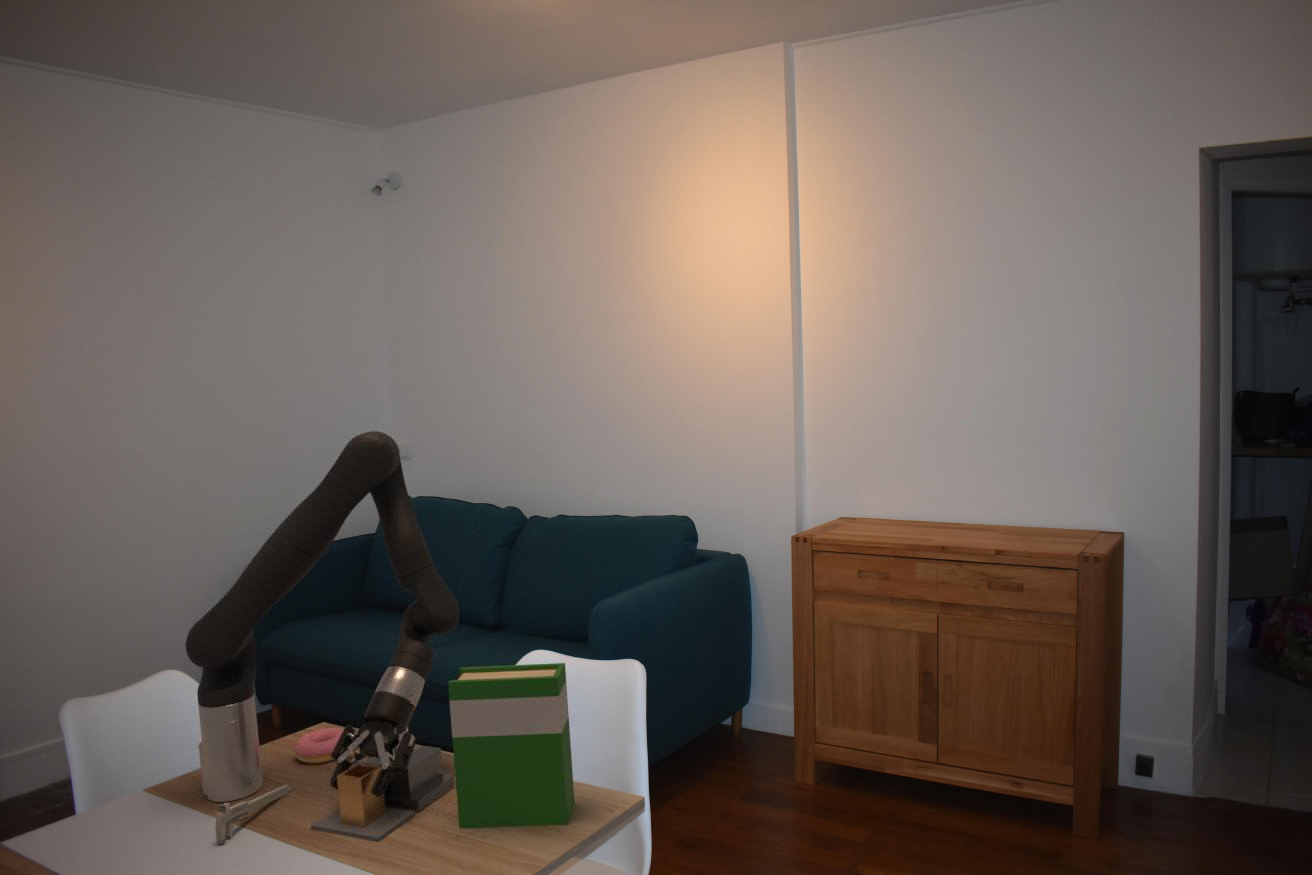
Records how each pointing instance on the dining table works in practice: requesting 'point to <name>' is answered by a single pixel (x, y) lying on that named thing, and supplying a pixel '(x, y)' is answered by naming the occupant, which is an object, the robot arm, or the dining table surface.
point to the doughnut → (318, 745)
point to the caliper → (242, 812)
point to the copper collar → (359, 796)
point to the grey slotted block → (416, 780)
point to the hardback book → (512, 746)
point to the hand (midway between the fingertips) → (355, 791)
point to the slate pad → (370, 832)
